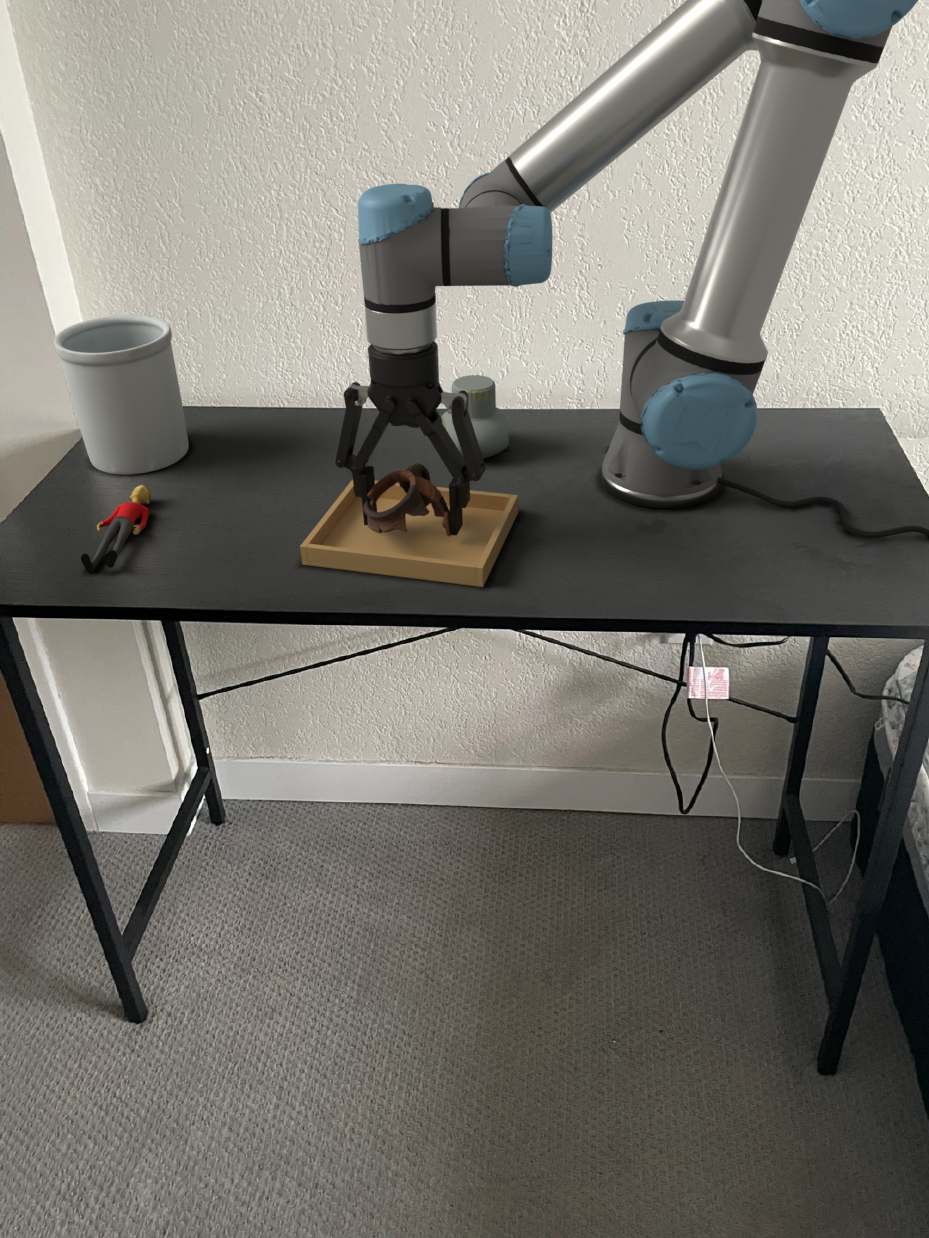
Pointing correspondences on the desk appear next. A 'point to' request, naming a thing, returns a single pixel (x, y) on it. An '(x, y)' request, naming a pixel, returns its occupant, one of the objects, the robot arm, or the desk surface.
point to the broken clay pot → (406, 500)
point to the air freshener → (481, 415)
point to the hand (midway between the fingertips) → (413, 524)
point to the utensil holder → (125, 392)
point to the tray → (413, 539)
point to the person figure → (120, 527)
